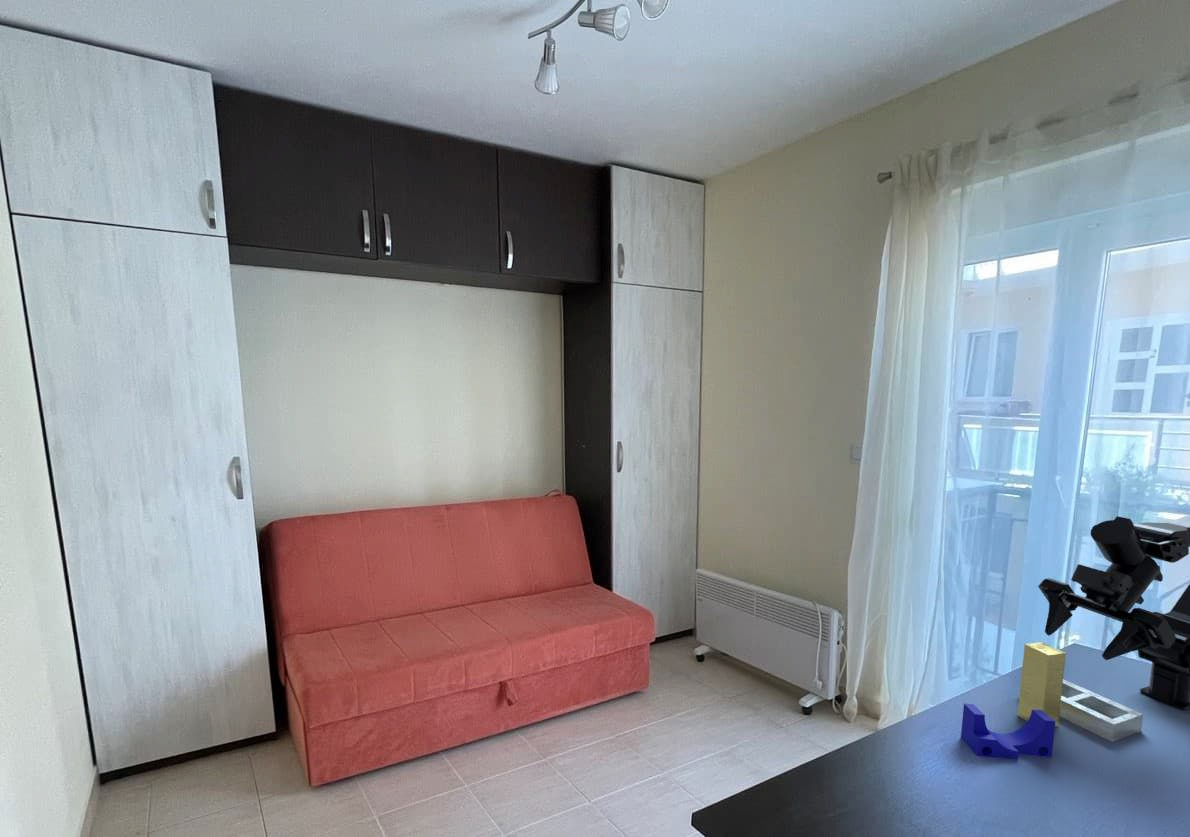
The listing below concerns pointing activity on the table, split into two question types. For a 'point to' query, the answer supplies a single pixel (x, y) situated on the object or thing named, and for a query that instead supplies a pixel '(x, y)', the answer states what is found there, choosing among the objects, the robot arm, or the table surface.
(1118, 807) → the table surface
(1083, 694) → the metal frame
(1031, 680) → the brass peg
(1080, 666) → the table surface
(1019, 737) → the cable clip
